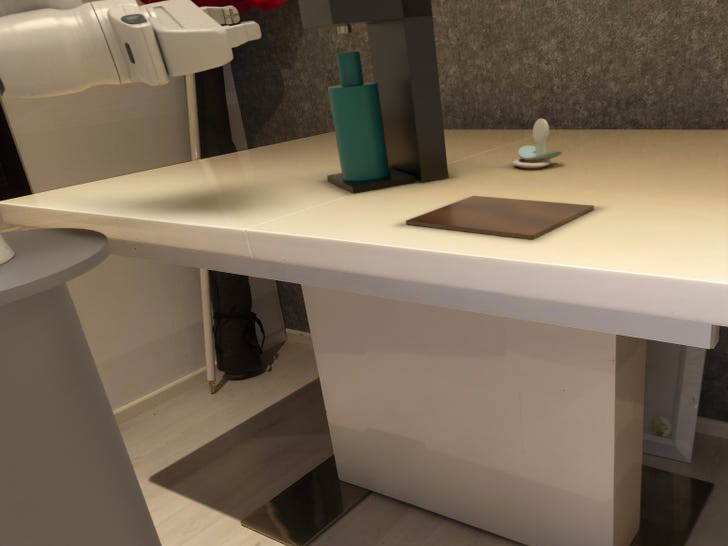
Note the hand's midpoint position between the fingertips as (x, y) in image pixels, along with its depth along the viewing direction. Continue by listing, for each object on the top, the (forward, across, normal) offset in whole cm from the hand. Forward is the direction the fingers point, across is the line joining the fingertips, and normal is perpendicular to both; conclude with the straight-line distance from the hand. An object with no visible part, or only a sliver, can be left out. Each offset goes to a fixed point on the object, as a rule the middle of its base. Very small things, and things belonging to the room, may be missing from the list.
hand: (247, 21), depth 85 cm
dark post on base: (+12, +9, -21) cm, 26 cm away
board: (+12, +40, -14) cm, 44 cm away
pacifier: (+31, +19, -20) cm, 42 cm away
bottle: (+9, +9, -20) cm, 24 cm away
